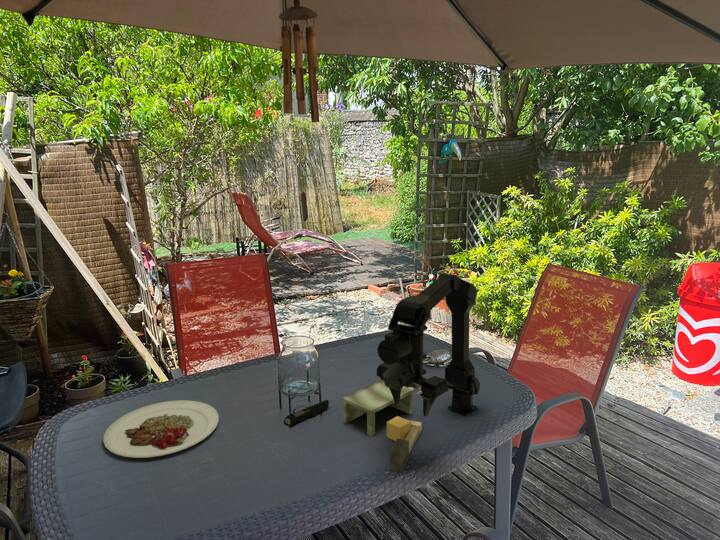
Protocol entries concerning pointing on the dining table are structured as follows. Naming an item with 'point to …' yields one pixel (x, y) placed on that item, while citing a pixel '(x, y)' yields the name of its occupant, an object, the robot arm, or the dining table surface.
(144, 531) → the dining table surface
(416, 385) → the frog figurine
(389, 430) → the ochre cube
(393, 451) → the crook tool
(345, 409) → the sage cubby
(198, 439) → the plated food
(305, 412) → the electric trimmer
